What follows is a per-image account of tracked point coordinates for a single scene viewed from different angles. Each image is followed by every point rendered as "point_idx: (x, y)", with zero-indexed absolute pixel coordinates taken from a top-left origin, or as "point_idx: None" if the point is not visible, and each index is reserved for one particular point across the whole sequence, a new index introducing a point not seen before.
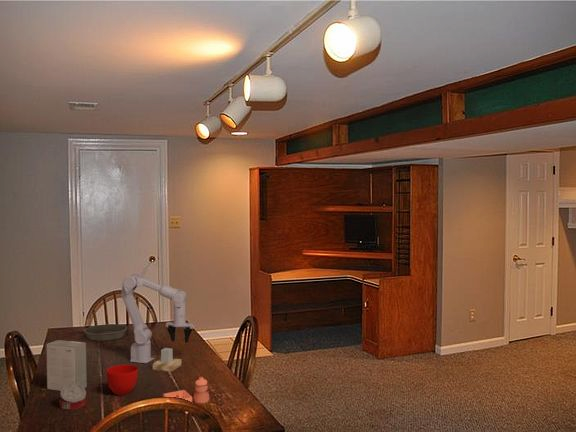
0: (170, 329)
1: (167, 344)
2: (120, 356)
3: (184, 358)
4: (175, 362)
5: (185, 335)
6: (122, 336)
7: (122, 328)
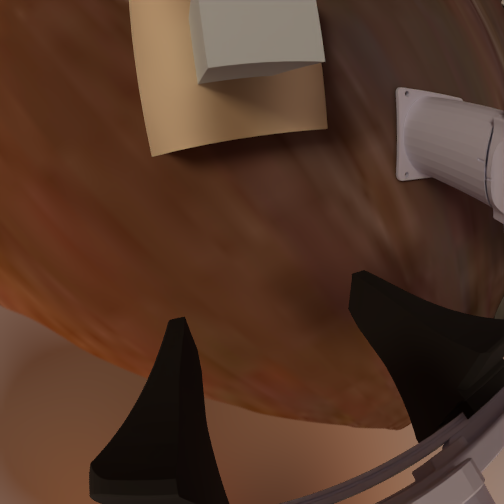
0: (481, 351)
1: None
2: None
3: (241, 274)
4: (140, 60)
5: (165, 395)
6: (497, 309)
7: None
